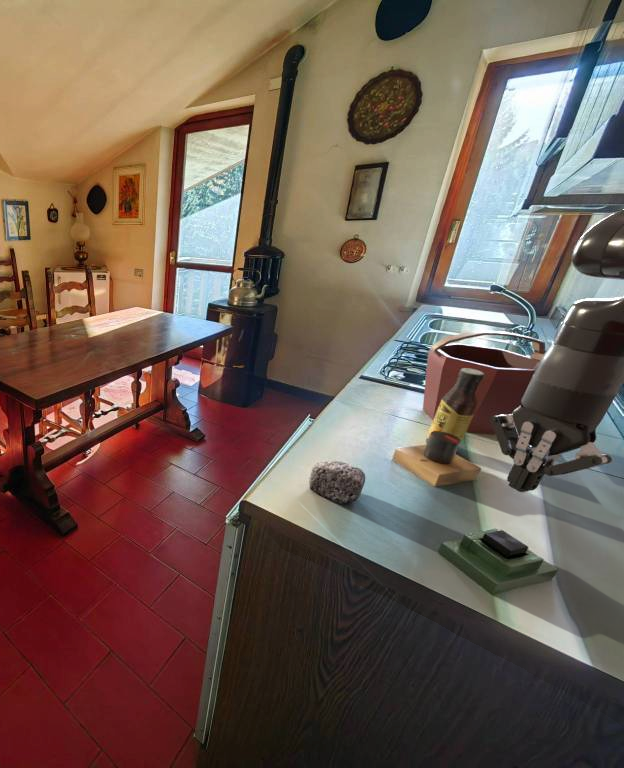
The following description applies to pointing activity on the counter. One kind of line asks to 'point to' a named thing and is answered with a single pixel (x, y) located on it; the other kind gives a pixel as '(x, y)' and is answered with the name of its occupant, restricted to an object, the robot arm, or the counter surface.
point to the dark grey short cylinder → (441, 447)
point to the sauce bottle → (458, 405)
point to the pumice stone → (337, 481)
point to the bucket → (498, 385)
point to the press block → (495, 564)
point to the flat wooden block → (435, 467)
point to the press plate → (504, 544)
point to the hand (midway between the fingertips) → (518, 488)
